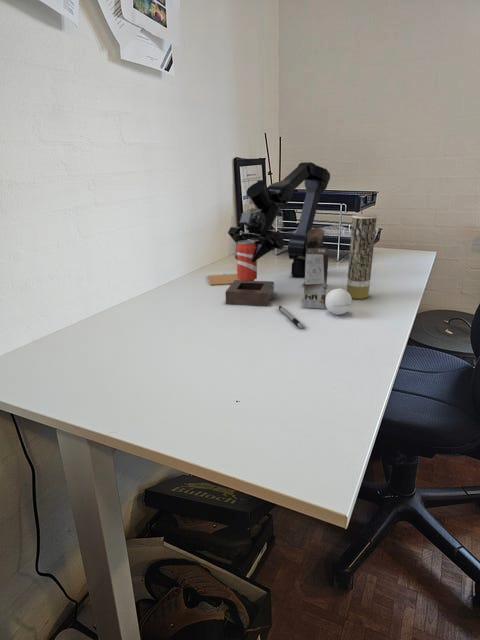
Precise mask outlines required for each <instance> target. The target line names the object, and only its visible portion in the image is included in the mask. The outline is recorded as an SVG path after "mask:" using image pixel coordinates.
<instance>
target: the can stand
mask: <svg viewBox="0 0 480 640" xmlns="http://www.w3.org/2000/svg"><path fill="white" fill-rule="evenodd" d="M274 290H275V281H274V280H273V281H272V280H271V281H269V280H254V281H252V282H242V281H240V280H234V282H233V283H232V284H229V286H228V288H226V290H225V304H226V305H237V306H256V307H257V306H259V307H269V305H270V303H271V301H272V298H273V296H274V293H275V291H274Z"/></svg>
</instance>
